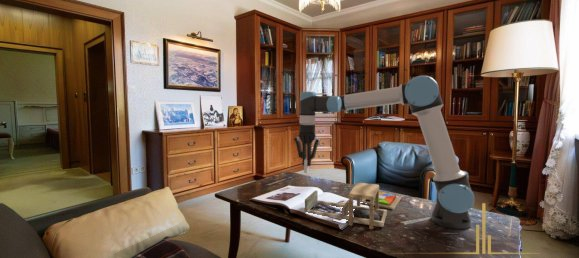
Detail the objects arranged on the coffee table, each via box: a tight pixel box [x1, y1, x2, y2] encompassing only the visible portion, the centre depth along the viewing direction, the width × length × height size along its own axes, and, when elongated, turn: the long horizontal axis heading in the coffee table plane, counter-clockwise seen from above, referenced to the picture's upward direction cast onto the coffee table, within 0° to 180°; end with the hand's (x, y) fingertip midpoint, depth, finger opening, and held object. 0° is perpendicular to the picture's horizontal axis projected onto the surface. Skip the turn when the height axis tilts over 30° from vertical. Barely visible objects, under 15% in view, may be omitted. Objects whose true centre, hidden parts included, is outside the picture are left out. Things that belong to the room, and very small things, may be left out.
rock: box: [353, 208, 382, 221], centre depth 125 cm, size 9×11×6 cm
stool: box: [348, 182, 380, 230], centre depth 126 cm, size 10×18×14 cm, turn 155°
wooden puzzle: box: [360, 191, 403, 211], centre depth 149 cm, size 18×19×4 cm
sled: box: [304, 190, 388, 228], centre depth 130 cm, size 35×15×7 cm, turn 65°
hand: (306, 172), depth 136 cm, fingers closed
